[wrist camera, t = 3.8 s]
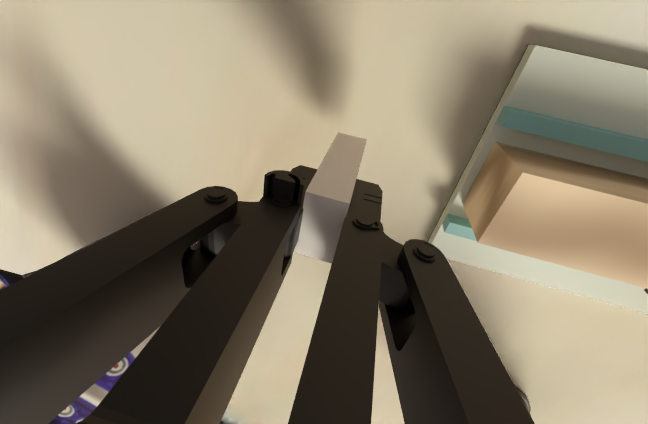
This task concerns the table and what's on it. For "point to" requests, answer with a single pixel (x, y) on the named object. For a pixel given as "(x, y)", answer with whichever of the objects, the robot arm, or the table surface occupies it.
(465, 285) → the table surface
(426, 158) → the table surface
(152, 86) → the table surface
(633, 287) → the railed board with endplate
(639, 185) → the light wood bar
